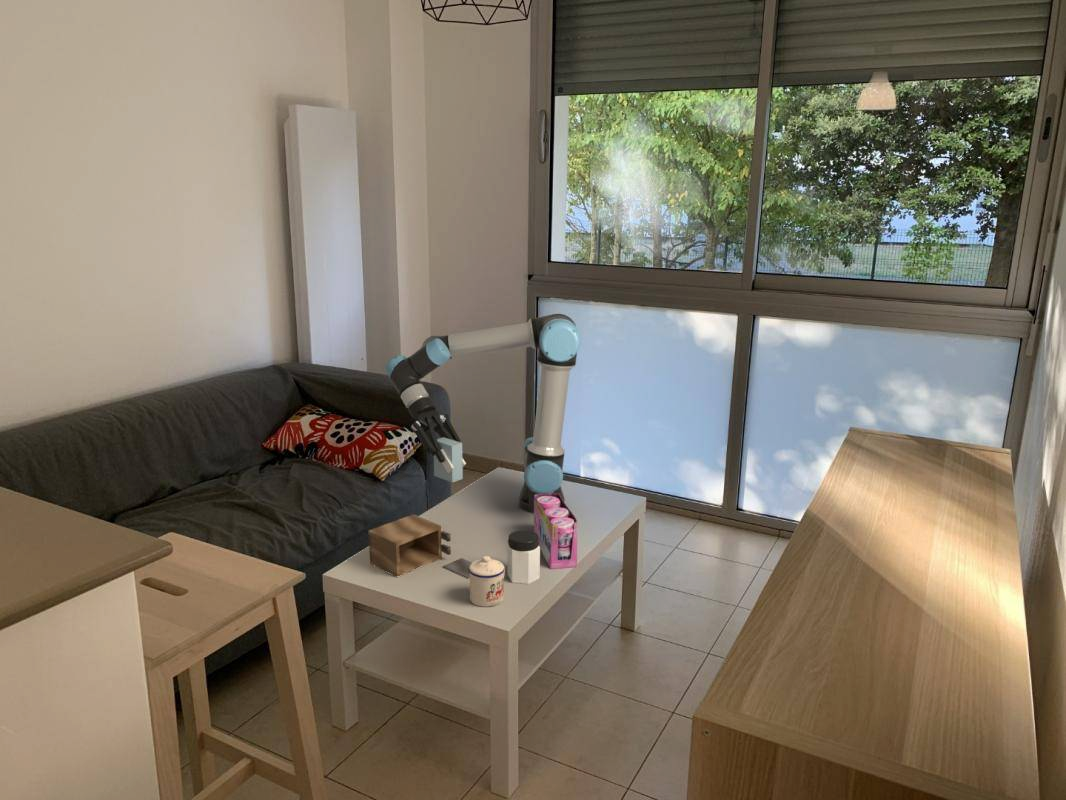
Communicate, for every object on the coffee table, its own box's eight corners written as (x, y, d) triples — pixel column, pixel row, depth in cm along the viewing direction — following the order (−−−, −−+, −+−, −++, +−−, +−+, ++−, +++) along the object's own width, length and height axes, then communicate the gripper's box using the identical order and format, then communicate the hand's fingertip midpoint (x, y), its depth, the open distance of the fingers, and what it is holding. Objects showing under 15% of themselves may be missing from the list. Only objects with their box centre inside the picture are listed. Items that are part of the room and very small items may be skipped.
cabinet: (423, 542, 244) (422, 510, 241) (486, 570, 226) (486, 536, 224) (369, 563, 230) (368, 530, 227) (432, 595, 212) (431, 559, 210)
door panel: (434, 475, 243) (433, 440, 240) (444, 472, 246) (443, 437, 243) (452, 482, 238) (451, 446, 235) (462, 478, 240) (462, 443, 238)
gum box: (579, 569, 228) (580, 523, 224) (551, 572, 226) (552, 526, 222) (558, 534, 250) (559, 492, 247) (532, 536, 248) (533, 494, 245)
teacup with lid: (490, 611, 205) (490, 568, 202) (461, 601, 210) (461, 559, 207) (517, 592, 214) (518, 551, 211) (489, 583, 219) (489, 542, 216)
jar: (523, 566, 229) (523, 526, 225) (545, 576, 223) (546, 535, 220) (501, 578, 222) (500, 536, 219) (523, 587, 217) (523, 545, 214)
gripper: (434, 404, 253) (472, 467, 247) (390, 415, 241) (428, 482, 234) (445, 390, 248) (484, 454, 242) (401, 401, 236) (440, 469, 230)
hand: (456, 468), depth 238 cm, fingers closed on door panel, 4 cm apart
